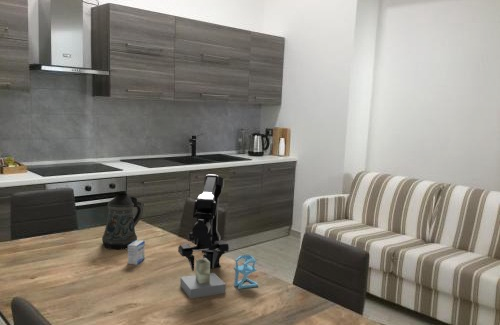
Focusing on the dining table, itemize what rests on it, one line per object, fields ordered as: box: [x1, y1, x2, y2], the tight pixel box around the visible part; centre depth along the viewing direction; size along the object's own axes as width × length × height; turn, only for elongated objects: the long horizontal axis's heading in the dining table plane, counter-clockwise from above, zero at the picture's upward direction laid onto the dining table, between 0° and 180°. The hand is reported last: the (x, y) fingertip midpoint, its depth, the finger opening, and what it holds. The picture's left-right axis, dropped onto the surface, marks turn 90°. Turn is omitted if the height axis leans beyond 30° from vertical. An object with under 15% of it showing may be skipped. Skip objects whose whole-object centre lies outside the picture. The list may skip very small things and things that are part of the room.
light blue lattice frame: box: [233, 254, 259, 290], centre depth 175 cm, size 8×8×12 cm
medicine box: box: [127, 239, 146, 266], centre depth 195 cm, size 8×4×9 cm, turn 168°
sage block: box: [195, 257, 211, 284], centre depth 169 cm, size 4×5×8 cm
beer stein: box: [101, 193, 144, 251], centre depth 216 cm, size 16×19×25 cm
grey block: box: [179, 272, 227, 300], centre depth 170 cm, size 14×12×4 cm
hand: (203, 269), depth 169 cm, fingers open, 8 cm apart
